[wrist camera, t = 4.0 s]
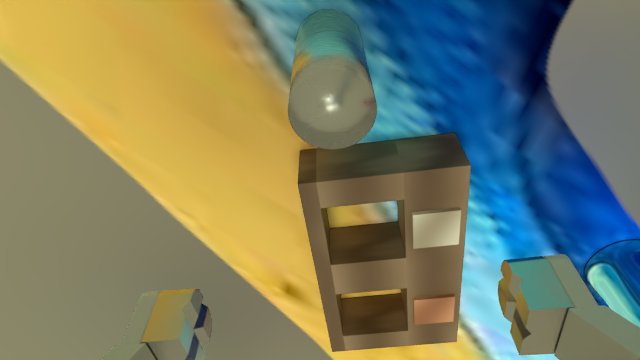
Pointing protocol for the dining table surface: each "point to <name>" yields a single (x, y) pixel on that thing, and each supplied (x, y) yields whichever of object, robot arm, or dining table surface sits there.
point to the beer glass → (618, 278)
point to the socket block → (389, 239)
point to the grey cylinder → (330, 83)
